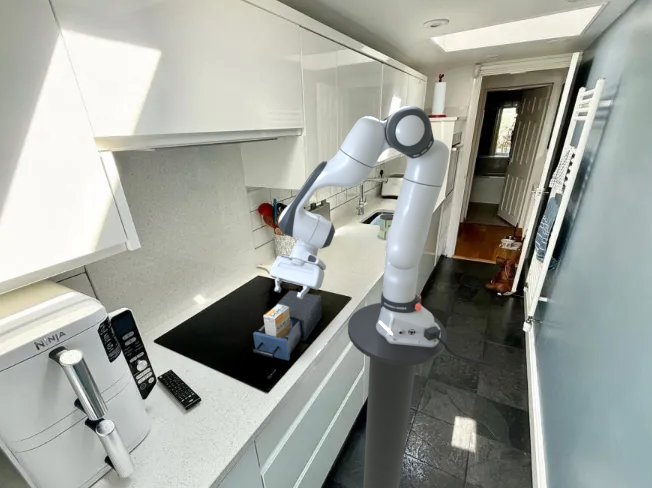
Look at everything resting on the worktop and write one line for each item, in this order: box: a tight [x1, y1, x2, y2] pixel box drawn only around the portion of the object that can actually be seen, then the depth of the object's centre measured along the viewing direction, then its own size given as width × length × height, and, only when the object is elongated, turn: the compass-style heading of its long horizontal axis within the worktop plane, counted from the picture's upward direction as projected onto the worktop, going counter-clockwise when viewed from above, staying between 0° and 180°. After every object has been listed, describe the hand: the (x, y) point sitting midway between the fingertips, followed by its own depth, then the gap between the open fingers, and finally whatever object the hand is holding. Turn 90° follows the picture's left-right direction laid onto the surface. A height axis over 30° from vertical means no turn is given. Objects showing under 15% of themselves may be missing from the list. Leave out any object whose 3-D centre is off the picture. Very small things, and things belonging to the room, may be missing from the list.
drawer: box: [252, 318, 303, 362], centre depth 105 cm, size 20×12×8 cm, turn 158°
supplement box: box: [263, 303, 291, 339], centre depth 104 cm, size 8×5×13 cm, turn 151°
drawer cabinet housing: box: [276, 290, 323, 342], centre depth 117 cm, size 17×14×10 cm
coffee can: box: [378, 213, 394, 240], centre depth 200 cm, size 10×10×14 cm
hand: (287, 295), depth 104 cm, fingers open, 8 cm apart
